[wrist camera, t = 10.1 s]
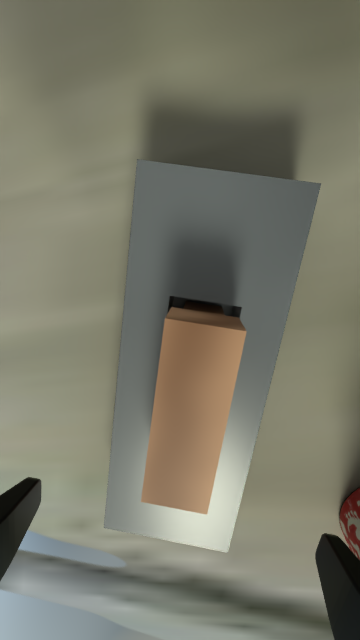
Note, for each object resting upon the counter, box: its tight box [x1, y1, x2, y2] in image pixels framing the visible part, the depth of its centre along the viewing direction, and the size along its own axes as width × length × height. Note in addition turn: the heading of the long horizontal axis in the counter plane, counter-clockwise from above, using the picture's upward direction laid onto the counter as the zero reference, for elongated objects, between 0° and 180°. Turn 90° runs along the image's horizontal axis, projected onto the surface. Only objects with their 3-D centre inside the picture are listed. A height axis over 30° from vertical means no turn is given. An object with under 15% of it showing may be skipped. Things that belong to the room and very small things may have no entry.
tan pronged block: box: [141, 301, 247, 515], centre depth 16 cm, size 4×10×6 cm, turn 172°
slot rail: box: [104, 159, 321, 553], centre depth 18 cm, size 9×24×4 cm, turn 172°
